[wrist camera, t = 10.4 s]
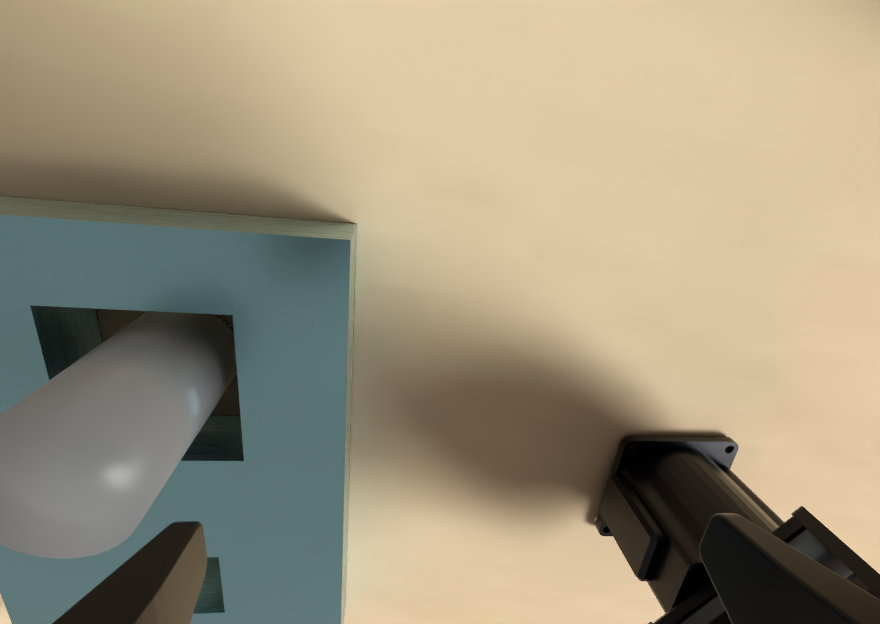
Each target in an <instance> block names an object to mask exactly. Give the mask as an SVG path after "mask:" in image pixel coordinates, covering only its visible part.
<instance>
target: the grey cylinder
mask: <svg viewBox="0 0 880 624" xmlns="http://www.w3.org/2000/svg"><path fill="white" fill-rule="evenodd" d="M236 374H237V365H236V352H235V340H234V334H233V333H232V331H231V330H230V329H229V327H228V326H227V325H226V324H225V323H224V322H223V321H222V320H221V319H219V318H218V317H217V316H215V315H213V314H198V313H177V312H157V311H147V312H145V313H144V314H143V315H141V316H140V317H138V318H137V319H135V320H134V321H133V322H131V323H130V324H128V325H127V326H126V327H124V328H123V329H121V330H120V331H119V332H117V333H116V334H114V335H113V336H111V337H110V338H109V339H107V340H106V341H104V342H103V343H102V344H100V345H99V346H97V347H96V348H94V349H93V350H92V351H90V352H89V353H87V354H86V355H85V356H83V357H82V358H80V359H79V360H78V361H76V362H75V363H73V364H72V365H70V366H69V367H68V368H66V369H65V370H63V371H62V372H61V373H59V374H58V375H56V376H55V377H53V378H52V379H51V380H49V381H48V382H46V383H45V384H44V385H42V386H41V387H39V388H38V389H37V390H35V391H34V392H32V393H31V394H29V395H28V396H27V397H25V398H24V399H22V400H21V401H20V402H18V403H17V404H15V405H14V406H13V407H11V408H10V409H8V410H7V411H5V412H4V413H3V414H1V415H0V545H2V546H4V547H7V548H9V549H12V550H15V551H18V552H21V553H25V554H28V555H33V556H38V557H44V558H54V559H71V558H82V557H88V556H92V555H96V554H100V553H102V552H105V551H108V550H110V549H112V548H114V547H116V546H118V545H119V544H121V543H122V542H123V541H125V540H126V539H127V538H128V537H129V536H130V535H131V534H132V533H133V532H134V530H135V529H136V528H137V526H138V525H139V523H140V522H141V520H142V519H143V517H144V516H145V514H146V512H147V511H148V509H149V508H150V506H151V505H152V503H153V502H154V500H155V499H156V497H157V496H158V494H159V493H160V491H161V489H162V488H163V486H164V485H165V483H166V482H167V480H168V479H169V477H170V476H171V474H172V473H173V471H174V469H175V468H176V466H177V465H178V463H179V462H180V460H181V459H182V457H183V456H184V454H185V453H186V451H187V450H188V448H189V446H190V445H191V443H192V442H193V440H194V439H195V437H196V436H197V434H198V433H199V431H200V430H201V428H202V426H203V425H204V423H205V422H206V420H207V419H208V417H209V416H210V414H211V413H212V411H213V410H214V408H215V407H216V405H217V403H218V402H219V400H220V399H221V397H222V396H223V394H224V393H225V391H226V390H227V388H228V387H229V385H230V383H231V382H232V380H233V379H234V377H235V376H236Z"/></svg>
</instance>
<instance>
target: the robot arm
mask: <svg viewBox="0 0 880 624" xmlns="http://www.w3.org/2000/svg"><path fill="white" fill-rule="evenodd" d="M631 445H632V446H631ZM630 446H631V447H630ZM737 451H738V444H737V443H736V442H734V441H733V440H732V439H731V438H729V437H682V436H627V437H625V438H624V439H623V440H622V441H621V443H620V445H619V448H618V452H617V455H616V458H615V462H614V465H613V468H612V472H611V475H610V477H609V480H608V483H607V486H606V490H605V493H604V497H603V500H602V503H601V507H600V510H599V511H600V512H599V515H598V518H597V522H596V528H597V530H598V531H599V533H600V535H602V536H613V537H614V538H615V540H616V542H617V544H618V545H619V547H620V549H621V551H622V553H623V554H624V556H625V558H626V560H627V561H628V563H629V565H630V567H631V568H632V570H633V572H634V574H635V575H636V577H637V578H638V579H639V580H640V581H647V582H648V584H649V586H650V588H651V589H652V591H653V593H654V594H655V596H656V598H657V599H658V601H659V603H660V605H661V606H662V608H663V610H664V611H665V613H666V614H664V615H663V616H662V617H660V618H659V619H658V620H656V621H655V622H654V623H652V622H650V623H648V624H880V574H879V573H877V572H876V571H875V570H874V569H873V568H872V567H871V566H870V565H868V564H867V563H866V562H865V561H864V560H863V559H862V558H860V557H859V556H858V555H857V554H856V553H855V552H854V551H853V550H851V549H850V548H849V547H848V546H847V545H846V544H845V543H843V542H842V541H841V540H840V539H839V538H838V537H837V536H836V535H834V534H833V533H832V532H831V531H830V530H829V529H828V528H826V527H825V526H824V525H823V524H822V523H821V522H820V521H819V520H817V519H816V518H815V517H814V516H813V515H812V514H811V513H809V512H808V511H807V510H806V509H805V508H804V507H803V506H801V507H800V508H798V509H797V510H796V511H794V512H793V513H792V515H793V517H791V518H790V519H789V520H787V521H786V522H785V523H784V522H783V521H782V520H781V519H780V518H779V517H778V516H777V515H776V514H775V513H774V512H773V511H772V510H771V509H770V508H769V507H768V506H767V505H766V504H765V503H764V502H763V501H762V500H761V499H760V498H759V497H758V496H757V495H755V494H754V493H753V492H752V491H751V490H750V489H749V488H748V487H747V486H746V485H745V484H744V483H743V482H742V481H741V480H740V479H739V478H738V477H737V476H736V475H735V474H734V473H733V472H732V471H731V470H730V467H731V465H732V463H733V460H734V458H735V455H736V453H737ZM206 567H207V553H206V545H205V538H204V530H203V526H202V524H201V523H200V522H198V521H178V522H173V523H172V524H170V525H168V526H167V527H166V528H165V529H163V530H162V531H161V532H160V533H159V534H157V535H156V536H155V537H154V538H153V539H152V540H150V541H149V542H148V543H147V544H146V545H144V546H143V547H142V548H141V549H140V550H138V551H137V552H136V553H135V554H134V555H133V556H131V557H130V558H129V559H128V560H127V561H125V562H124V563H123V564H122V565H121V566H119V567H118V568H117V569H116V570H115V571H114V572H112V573H111V574H110V575H109V576H108V577H106V578H105V579H104V580H103V581H102V582H101V583H99V584H98V585H97V586H96V587H95V588H93V589H92V590H91V591H90V592H89V593H87V594H86V595H85V596H84V597H83V598H82V599H80V600H79V601H78V602H77V603H76V604H74V605H73V606H72V607H71V608H70V609H68V610H67V611H66V612H65V613H64V614H63V615H61V616H60V617H59V618H58V619H57V620H55V621H54V622H53V623H52V624H190V622H191V619H192V616H193V612H194V609H195V606H196V603H197V599H198V596H199V593H200V589H201V586H202V583H203V579H204V576H205V572H206Z"/></svg>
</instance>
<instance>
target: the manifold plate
mask: <svg viewBox="0 0 880 624" xmlns="http://www.w3.org/2000/svg"><path fill="white" fill-rule="evenodd" d="M356 229H357V224H352V223H340V222H327V221H314V220H301V219H289V218H276V217H263V216H250V215H238V214H225V213H212V212H199V211H187V210H174V209H161V208H148V207H136V206H123V205H110V204H97V203H85V202H72V201H59V200H46V199H34V198H21V197H8V196H0V415H1V414H3V413H4V412H5V411H7V410H8V409H10V408H11V407H13V406H14V405H15V404H17V403H18V402H20V401H21V400H22V399H24V398H25V397H27V396H28V395H29V394H31V393H32V392H34V391H35V390H37V389H38V388H39V387H41V386H42V385H44V384H45V383H46V382H48V381H49V380H51V379H52V378H53V377H55V376H56V375H58V374H59V373H61V372H62V371H63V370H65V369H66V368H68V367H69V366H70V365H72V364H73V363H75V362H76V361H78V360H79V359H80V358H82V357H83V356H85V355H86V354H87V353H89V352H90V351H92V350H93V349H94V348H96V347H97V346H99V345H100V344H102V339H101V334H100V329H99V324H98V319H97V314H96V309H115V310H136V311H157V312H177V313H198V314H219V315H233V327H234V340H235V352H236V365H237V378H238V391H239V404H240V416H221V415H210V416H209V417H208V419H207V420H206V422H205V423H204V425H203V426H202V428H201V430H200V431H199V433H198V434H197V436H196V437H195V439H194V440H193V442H192V443H191V445H190V446H189V448H188V450H187V451H186V453H185V454H184V456H183V457H182V459H181V460H180V462H179V463H178V465H177V466H176V468H175V469H174V471H173V473H172V474H171V476H170V477H169V479H168V480H167V482H166V483H165V485H164V486H163V488H162V489H161V491H160V493H159V494H158V496H157V497H156V499H155V500H154V502H153V503H152V505H151V506H150V508H149V509H148V511H147V512H146V514H145V516H144V517H143V519H142V520H141V522H140V523H139V525H138V526H137V528H136V529H135V530H134V532H133V533H132V534H131V535H130V536H129V537H128V538H127V539H126V540H125V541H123V542H122V543H121V544H119V545H118V546H116V547H114V548H112V549H110V550H108V551H105V552H102V553H100V554H96V555H92V556H88V557H82V558H71V559H54V558H44V557H38V556H33V555H28V554H25V553H21V552H18V551H15V550H12V549H9V548H7V547H4V546H2V545H0V593H1V595H2V598H3V601H4V603H5V606H6V609H7V611H8V614H9V617H10V619H11V622H12V624H52V623H53V622H54V621H55V620H57V619H58V618H59V617H60V616H61V615H63V614H64V613H65V612H66V611H67V610H68V609H70V608H71V607H72V606H73V605H74V604H76V603H77V602H78V601H79V600H80V599H82V598H83V597H84V596H85V595H86V594H87V593H89V592H90V591H91V590H92V589H93V588H95V587H96V586H97V585H98V584H99V583H101V582H102V581H103V580H104V579H105V578H106V577H108V576H109V575H110V574H111V573H112V572H114V571H115V570H116V569H117V568H118V567H119V566H121V565H122V564H123V563H124V562H125V561H127V560H128V559H129V558H130V557H131V556H133V555H134V554H135V553H136V552H137V551H138V550H140V549H141V548H142V547H143V546H144V545H146V544H147V543H148V542H149V541H150V540H152V539H153V538H154V537H155V536H156V535H157V534H159V533H160V532H161V531H162V530H163V529H165V528H166V527H167V526H168V525H170V524H172V523H173V522H178V521H198V522H200V523H201V524H202V526H203V530H204V538H205V545H206V553H207V567H206V572H205V576H204V579H203V583H202V586H201V589H200V593H199V596H198V599H197V603H196V606H195V609H194V612H193V616H192V619H191V622H190V624H344V616H345V601H346V567H347V533H348V500H349V466H350V432H351V398H352V365H353V331H354V297H355V263H356Z"/></svg>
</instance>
